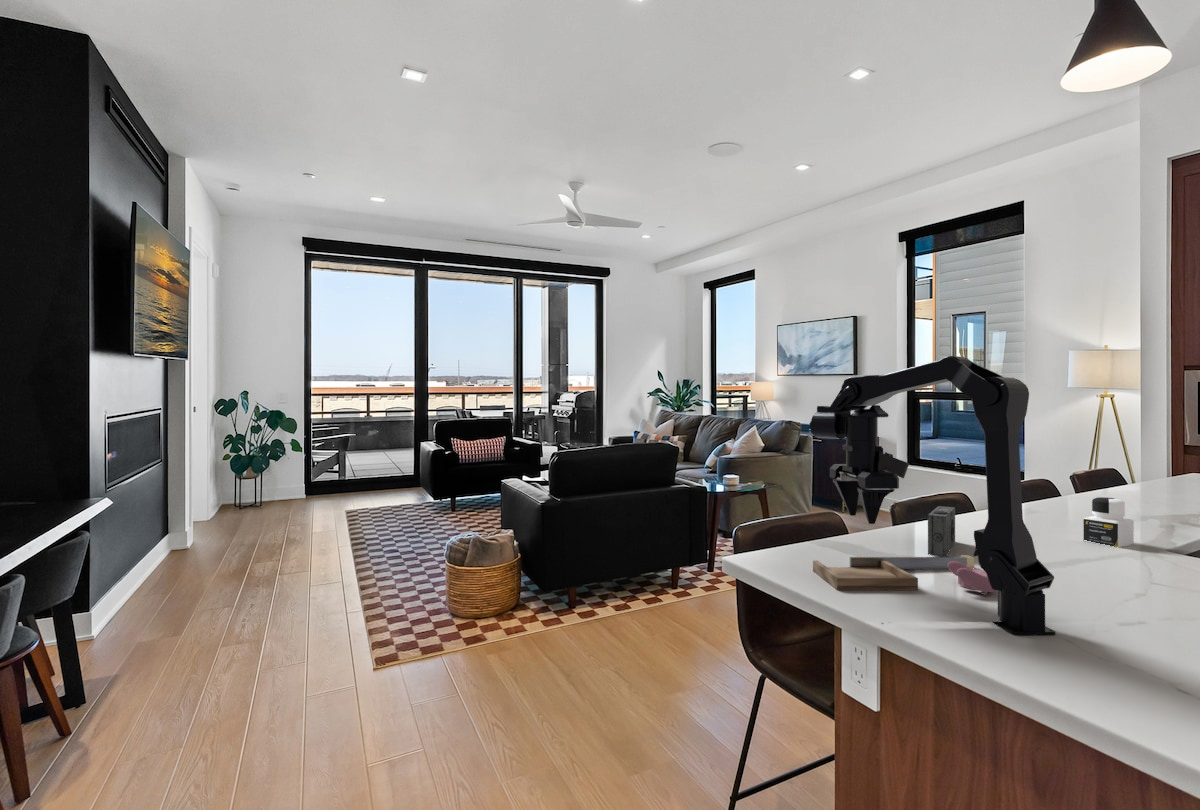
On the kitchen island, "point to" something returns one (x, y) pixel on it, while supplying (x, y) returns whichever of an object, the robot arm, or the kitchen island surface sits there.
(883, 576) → the brown wooden tray
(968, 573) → the video game controller
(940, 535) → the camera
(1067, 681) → the kitchen island surface
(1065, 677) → the kitchen island surface
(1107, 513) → the medicine bottle
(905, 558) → the gray metal bar
